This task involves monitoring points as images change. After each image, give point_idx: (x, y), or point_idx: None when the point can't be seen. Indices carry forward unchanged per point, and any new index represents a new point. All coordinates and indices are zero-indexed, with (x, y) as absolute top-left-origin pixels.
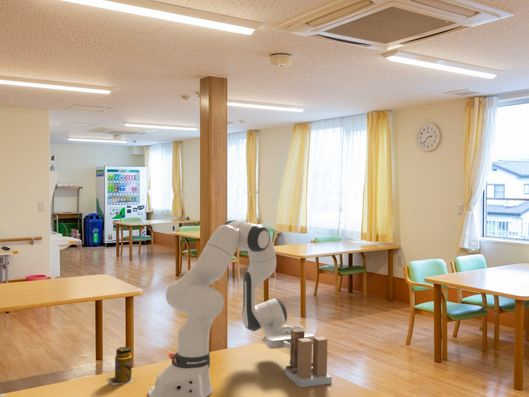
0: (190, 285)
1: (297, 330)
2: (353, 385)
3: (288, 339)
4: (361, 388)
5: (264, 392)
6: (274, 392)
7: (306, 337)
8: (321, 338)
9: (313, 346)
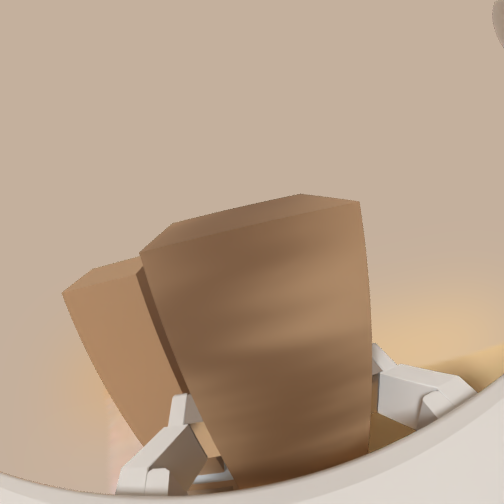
0: None
1: (248, 210)
2: (115, 417)
3: (408, 438)
4: (112, 399)
5: (454, 358)
6: (422, 366)
7: (61, 488)
8: (109, 269)
9: (163, 342)
